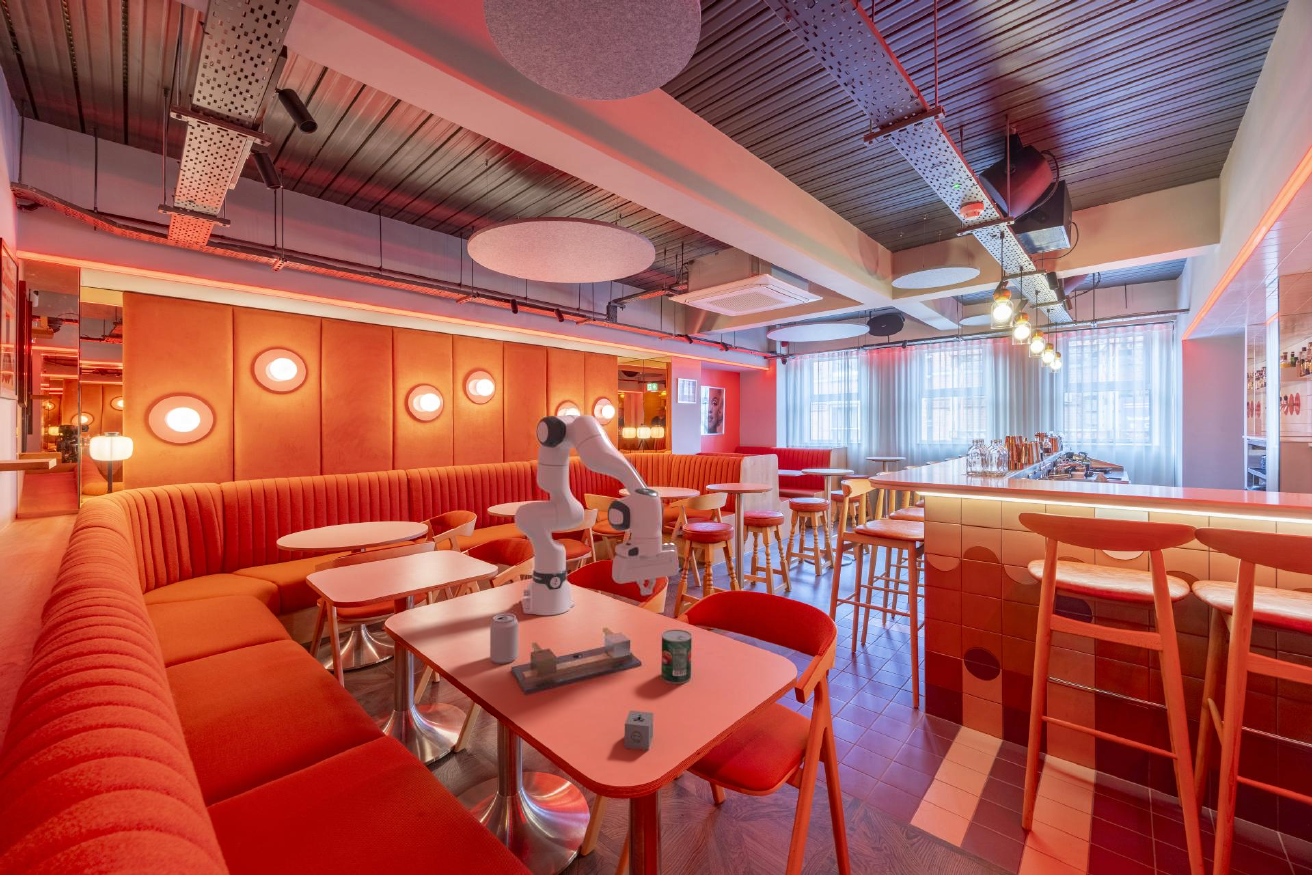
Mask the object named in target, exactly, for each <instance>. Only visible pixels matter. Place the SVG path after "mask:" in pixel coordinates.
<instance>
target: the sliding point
mask: <svg viewBox="0 0 1312 875" xmlns="http://www.w3.org/2000/svg"><path fill="white" fill-rule="evenodd" d="M602 632H603V633H604V647H605V651H606V652H607V653H608V654H609V655H611V656H612V657H613V658H617V657H621V656H626V655H630V651H631V639H630V638H628V637H627V636H626V635H625V634H623V633H622V632H617V633H614V632H613V631H612V630H610V629H609V627H603V628H602Z"/></svg>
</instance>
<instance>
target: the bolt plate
mask: <svg viewBox="0 0 1312 875" xmlns="http://www.w3.org/2000/svg"><path fill="white" fill-rule="evenodd" d="M531 648H532V649H533V651H530V662H527V663H524V664H519V665H515V666H511V667H510V669H511V673H512V675H513V676H514V677H515V679H516V681H517V683H518V684H519V686H520V688H521V690H522V691H523V693H524V694H525V695H529V694H532V693H536V692H540V691H544V690H549V689H553V688H557V687H560V686H565V685H568V684H573V683H577V682H580V681H584V680H589V679H592V678H597V677H601V676H604V675H605V676H606V675H609V674H613V673H616V672H621V671H625V670H629V669H634V668H636V667H637V668H638V667H641V666H642V664H643V663H642V661H641V659H639V658H638V657H637V656H635V655H634V654H633V651H632V650H630V655H626V656H621V657H617V658H613V657H612V656H611V655H609V654H608V653H607V652H606V651H605V646H602V647H601V646H600V647H595V648H592V649H591V648H590V649H588V650H584V651H583V650H582V651H578V652H573V653H569V654H565V655H559V656H557V655H556V654H554V652H553V651H552V650H551V649H550V648H545V649H542V648H541V647H540V645H539V644H538V643H537V642H531Z"/></svg>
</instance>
